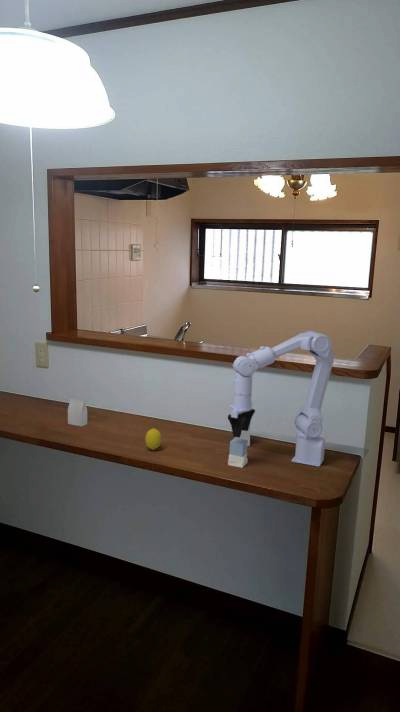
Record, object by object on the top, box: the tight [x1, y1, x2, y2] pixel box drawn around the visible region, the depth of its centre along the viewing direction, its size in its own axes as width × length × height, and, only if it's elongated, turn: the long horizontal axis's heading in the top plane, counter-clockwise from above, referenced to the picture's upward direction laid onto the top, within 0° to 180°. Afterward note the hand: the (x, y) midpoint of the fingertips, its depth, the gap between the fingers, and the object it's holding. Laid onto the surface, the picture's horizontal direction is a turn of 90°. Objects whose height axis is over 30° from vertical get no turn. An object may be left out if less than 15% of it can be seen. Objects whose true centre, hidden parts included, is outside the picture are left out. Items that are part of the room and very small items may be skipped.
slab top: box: [228, 452, 248, 463], centre depth 170 cm, size 5×5×2 cm
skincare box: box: [234, 424, 251, 447], centre depth 189 cm, size 6×4×12 cm
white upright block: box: [67, 398, 88, 427], centre depth 206 cm, size 4×7×10 cm, turn 67°
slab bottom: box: [227, 457, 248, 468], centre depth 170 cm, size 5×5×2 cm
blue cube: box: [228, 437, 248, 457], centre depth 169 cm, size 4×4×4 cm
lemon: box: [145, 427, 162, 451], centre depth 180 cm, size 6×6×8 cm
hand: (240, 433), depth 169 cm, fingers open, 7 cm apart
